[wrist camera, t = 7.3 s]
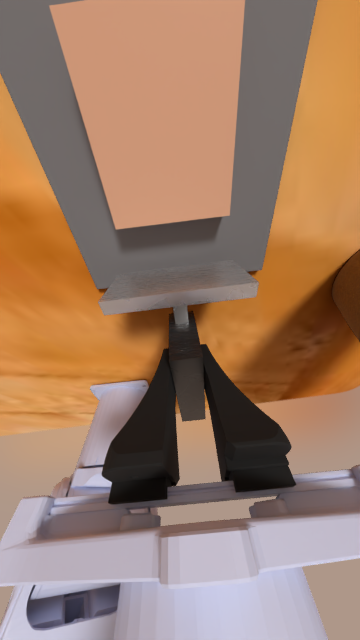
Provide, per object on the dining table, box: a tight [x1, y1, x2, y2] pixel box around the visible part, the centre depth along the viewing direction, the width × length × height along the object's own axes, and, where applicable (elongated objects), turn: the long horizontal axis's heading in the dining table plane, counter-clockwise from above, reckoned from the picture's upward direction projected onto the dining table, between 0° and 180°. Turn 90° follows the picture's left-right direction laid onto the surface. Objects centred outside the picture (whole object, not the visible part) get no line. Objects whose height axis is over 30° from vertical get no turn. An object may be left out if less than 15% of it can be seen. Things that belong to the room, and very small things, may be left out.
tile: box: [49, 0, 245, 229], centre depth 8 cm, size 2×7×7 cm
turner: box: [98, 260, 259, 421], centre depth 13 cm, size 12×8×5 cm
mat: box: [0, 0, 317, 289], centre depth 8 cm, size 18×14×1 cm
